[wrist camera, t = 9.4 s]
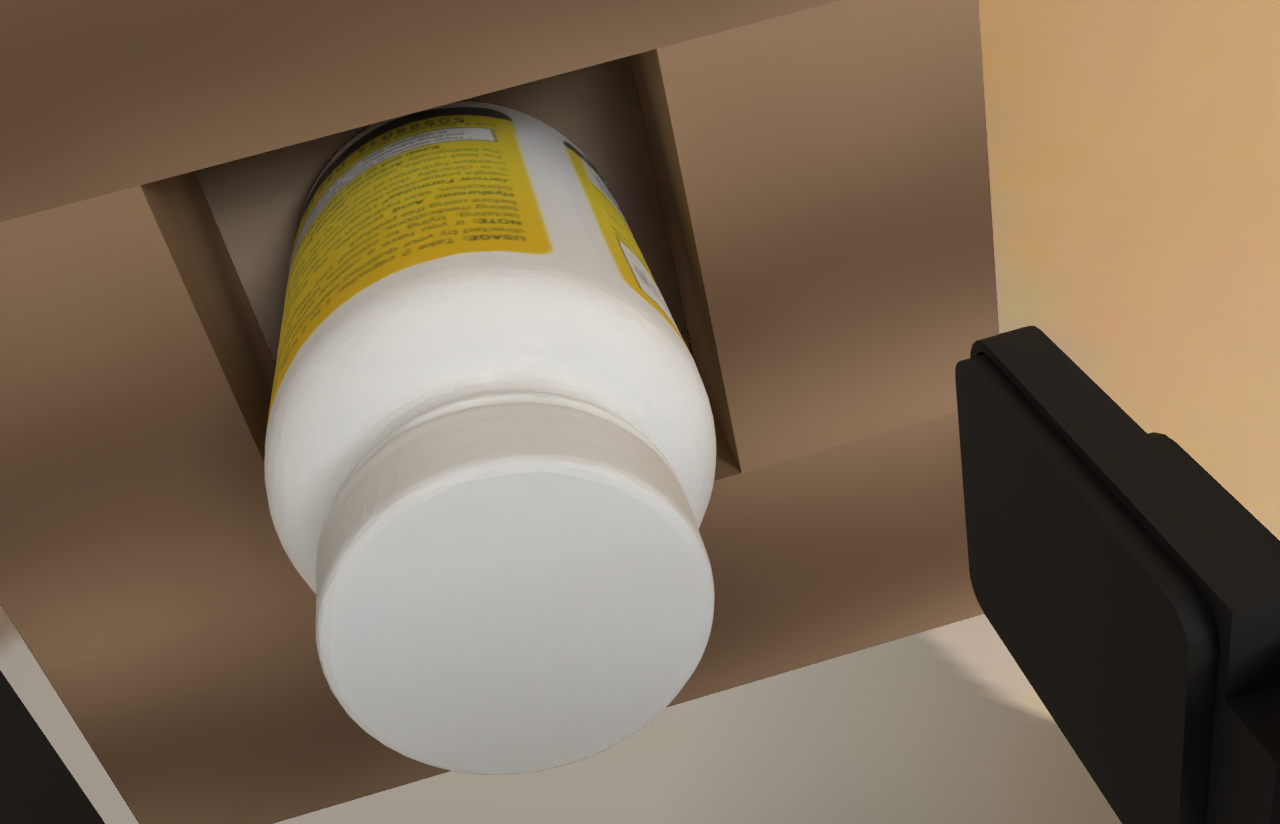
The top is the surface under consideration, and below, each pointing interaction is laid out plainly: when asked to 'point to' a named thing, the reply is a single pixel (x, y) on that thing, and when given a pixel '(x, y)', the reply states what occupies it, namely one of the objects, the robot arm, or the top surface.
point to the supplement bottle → (488, 447)
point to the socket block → (244, 368)
